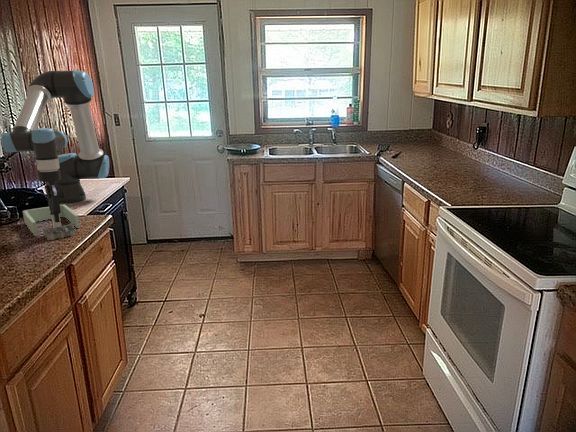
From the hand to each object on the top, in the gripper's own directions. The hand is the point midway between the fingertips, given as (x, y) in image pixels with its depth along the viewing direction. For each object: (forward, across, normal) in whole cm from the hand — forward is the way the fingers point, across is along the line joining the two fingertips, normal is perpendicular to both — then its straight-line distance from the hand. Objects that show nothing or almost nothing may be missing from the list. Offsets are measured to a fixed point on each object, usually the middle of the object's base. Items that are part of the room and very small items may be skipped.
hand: (57, 229), depth 176 cm
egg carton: (+2, +4, 0) cm, 5 cm away
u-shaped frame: (+1, -12, 0) cm, 12 cm away
